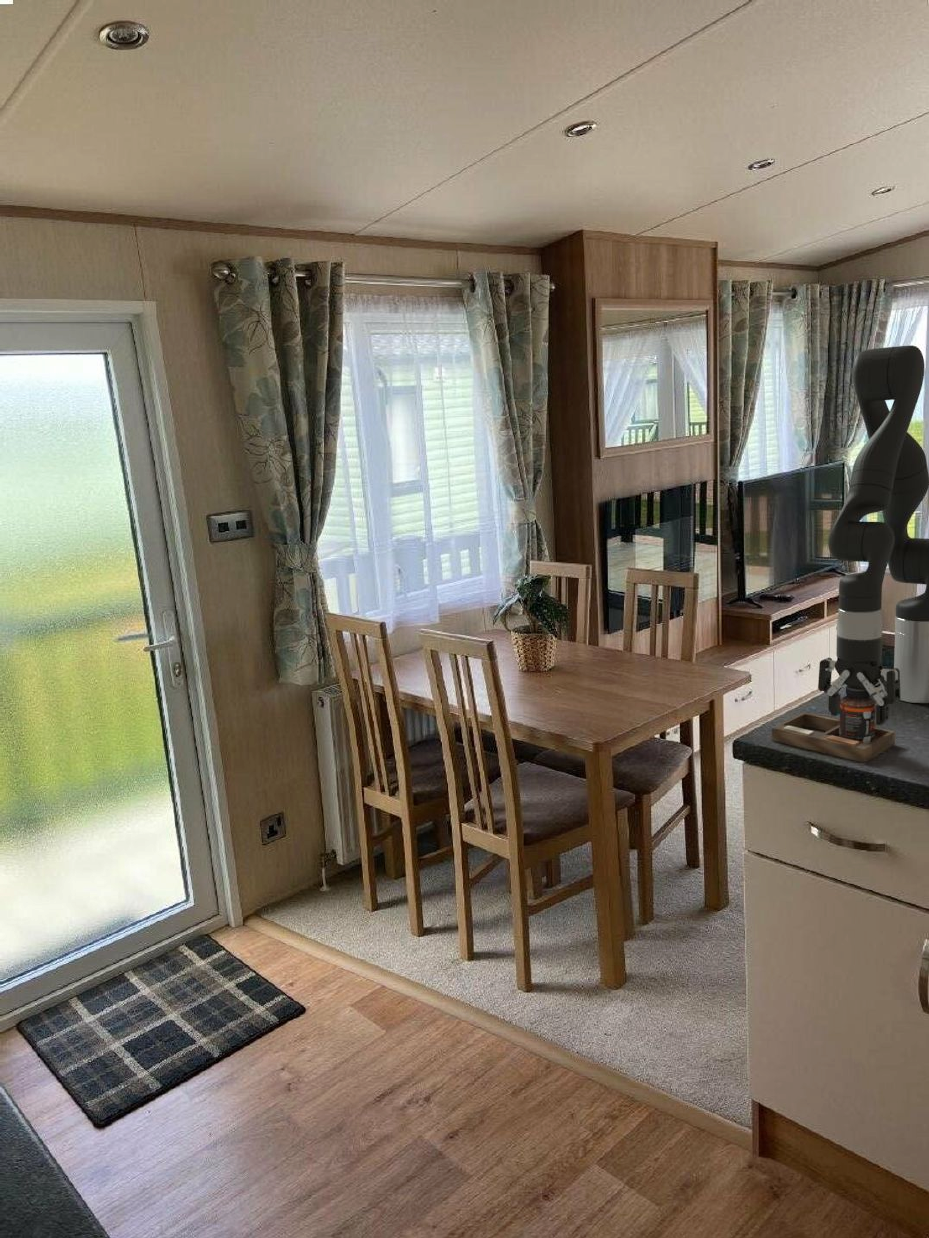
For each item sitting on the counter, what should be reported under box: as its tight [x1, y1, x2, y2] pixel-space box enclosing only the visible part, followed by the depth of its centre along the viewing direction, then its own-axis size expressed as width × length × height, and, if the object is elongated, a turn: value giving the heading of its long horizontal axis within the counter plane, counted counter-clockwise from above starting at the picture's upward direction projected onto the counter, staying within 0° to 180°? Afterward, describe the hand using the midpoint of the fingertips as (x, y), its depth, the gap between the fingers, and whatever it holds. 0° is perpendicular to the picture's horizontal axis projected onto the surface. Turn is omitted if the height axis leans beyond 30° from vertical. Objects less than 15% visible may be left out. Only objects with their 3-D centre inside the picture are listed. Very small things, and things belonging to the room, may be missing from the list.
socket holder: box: [771, 712, 896, 764], centre depth 176 cm, size 18×11×3 cm, turn 41°
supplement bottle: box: [839, 685, 876, 744], centre depth 172 cm, size 6×6×11 cm
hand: (857, 719), depth 172 cm, fingers open, 8 cm apart
